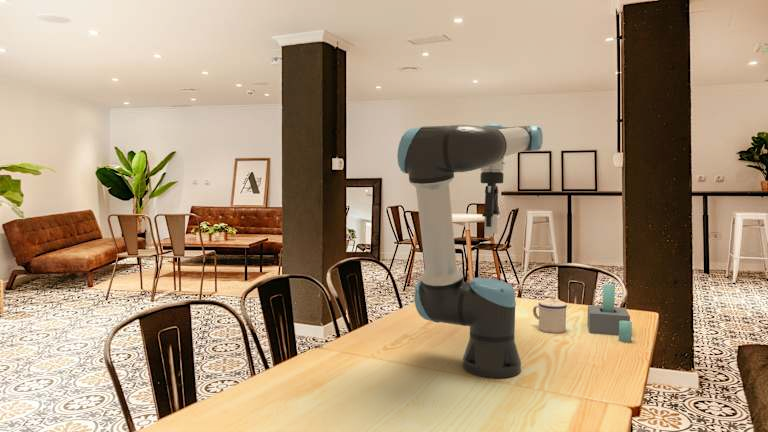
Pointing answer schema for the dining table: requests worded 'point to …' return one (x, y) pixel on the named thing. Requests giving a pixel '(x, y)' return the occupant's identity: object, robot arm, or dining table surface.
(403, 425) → the dining table surface
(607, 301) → the long pin
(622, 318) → the hole block
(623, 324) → the short pin
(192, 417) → the dining table surface
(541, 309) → the teacup with lid
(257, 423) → the dining table surface
